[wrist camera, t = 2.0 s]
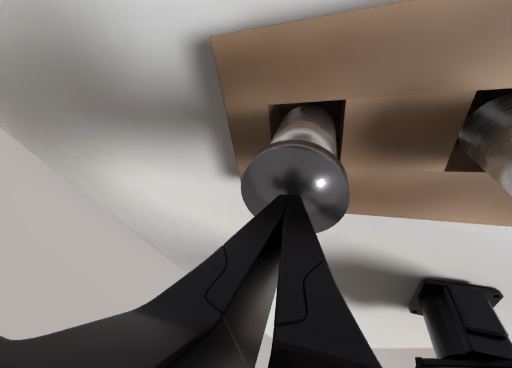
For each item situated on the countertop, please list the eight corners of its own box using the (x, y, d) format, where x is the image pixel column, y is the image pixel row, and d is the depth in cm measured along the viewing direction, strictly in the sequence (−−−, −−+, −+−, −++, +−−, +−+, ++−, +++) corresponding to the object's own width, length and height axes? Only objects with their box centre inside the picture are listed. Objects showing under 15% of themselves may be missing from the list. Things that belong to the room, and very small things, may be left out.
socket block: (524, 190, 15) (573, 231, 12) (258, 179, 21) (245, 205, 18) (687, -47, 9) (882, -86, 6) (235, 34, 15) (209, 36, 12)
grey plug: (339, 163, 15) (344, 240, 9) (276, 162, 16) (249, 229, 11) (345, 95, 12) (356, 148, 7) (270, 101, 14) (231, 148, 8)
